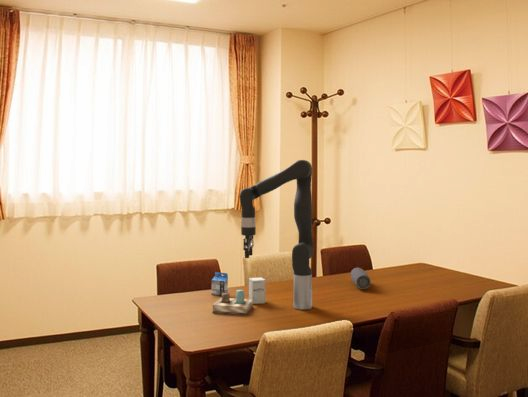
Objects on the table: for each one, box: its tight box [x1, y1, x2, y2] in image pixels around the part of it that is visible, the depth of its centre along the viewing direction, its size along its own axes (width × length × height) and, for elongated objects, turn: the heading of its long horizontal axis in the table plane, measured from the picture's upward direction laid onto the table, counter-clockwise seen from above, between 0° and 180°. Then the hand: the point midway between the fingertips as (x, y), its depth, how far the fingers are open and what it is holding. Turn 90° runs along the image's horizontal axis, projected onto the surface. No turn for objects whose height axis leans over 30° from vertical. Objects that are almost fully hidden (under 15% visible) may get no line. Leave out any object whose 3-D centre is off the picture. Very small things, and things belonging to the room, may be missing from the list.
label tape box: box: [210, 271, 229, 297], centre depth 287 cm, size 9×4×12 cm, turn 62°
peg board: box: [212, 292, 254, 316], centre depth 257 cm, size 17×14×8 cm
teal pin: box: [235, 289, 245, 304], centre depth 256 cm, size 4×4×9 cm
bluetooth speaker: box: [350, 267, 372, 290], centre depth 307 cm, size 23×9×10 cm, turn 179°
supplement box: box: [248, 277, 266, 305], centre depth 271 cm, size 7×7×13 cm
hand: (248, 256), depth 268 cm, fingers open, 8 cm apart
